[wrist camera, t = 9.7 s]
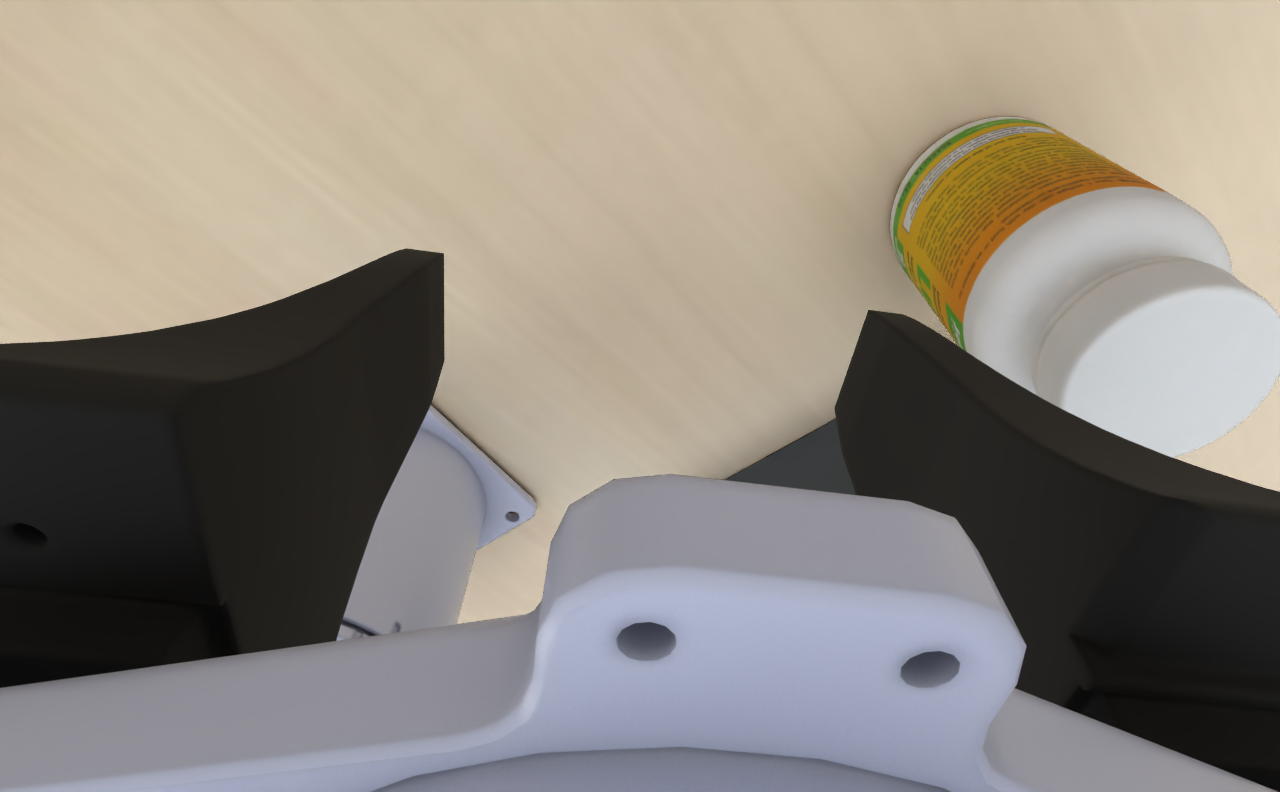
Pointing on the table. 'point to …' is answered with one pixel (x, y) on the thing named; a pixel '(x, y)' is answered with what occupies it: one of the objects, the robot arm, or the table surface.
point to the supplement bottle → (1085, 284)
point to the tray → (804, 465)
